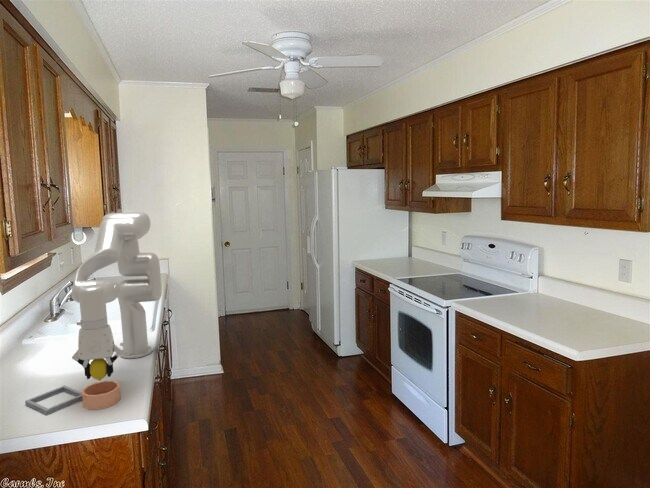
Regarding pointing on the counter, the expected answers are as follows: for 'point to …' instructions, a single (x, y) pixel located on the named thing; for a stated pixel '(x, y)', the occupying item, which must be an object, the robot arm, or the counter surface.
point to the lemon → (98, 368)
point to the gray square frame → (64, 388)
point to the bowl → (101, 395)
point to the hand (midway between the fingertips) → (99, 375)
